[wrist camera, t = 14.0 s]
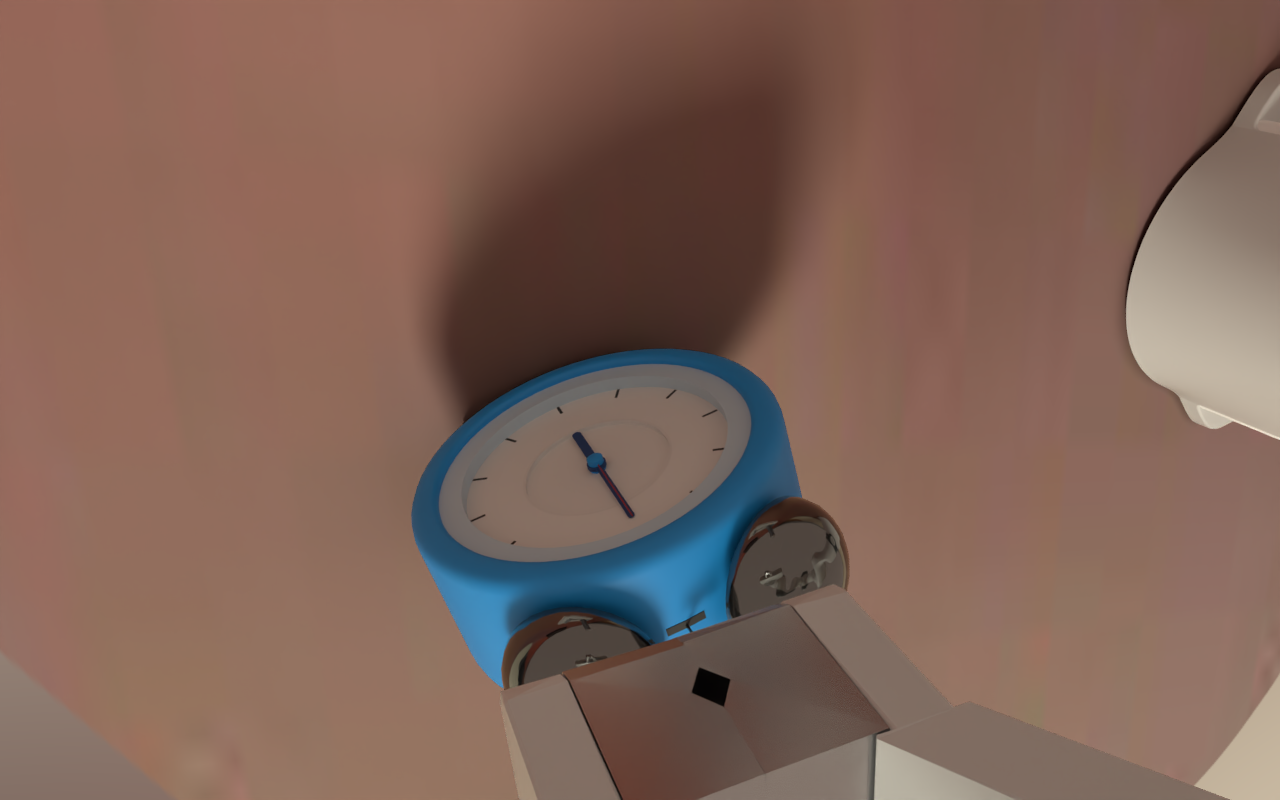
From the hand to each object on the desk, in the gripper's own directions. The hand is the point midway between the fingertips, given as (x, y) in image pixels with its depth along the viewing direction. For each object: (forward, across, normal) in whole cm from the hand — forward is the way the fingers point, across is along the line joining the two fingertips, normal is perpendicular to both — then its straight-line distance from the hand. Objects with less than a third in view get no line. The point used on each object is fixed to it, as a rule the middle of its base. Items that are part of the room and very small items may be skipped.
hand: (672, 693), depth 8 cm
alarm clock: (+29, -6, +14) cm, 33 cm away
